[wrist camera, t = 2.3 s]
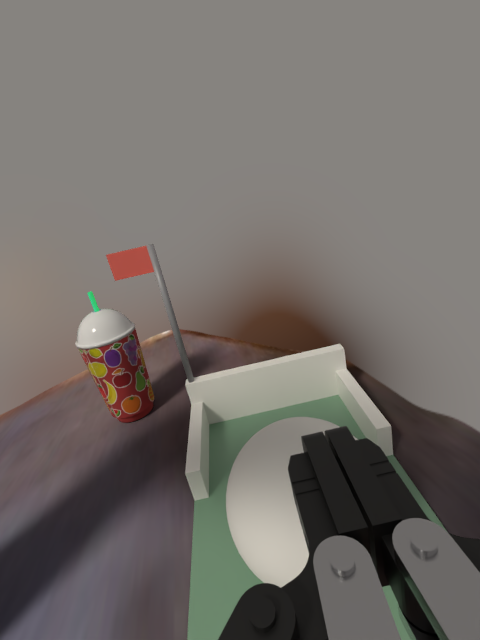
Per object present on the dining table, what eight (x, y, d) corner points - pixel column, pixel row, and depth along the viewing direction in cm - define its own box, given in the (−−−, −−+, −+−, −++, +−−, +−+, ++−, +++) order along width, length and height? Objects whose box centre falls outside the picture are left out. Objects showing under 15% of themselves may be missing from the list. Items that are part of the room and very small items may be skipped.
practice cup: (114, 744, 20) (-133, 392, 12) (169, 428, 48) (108, 253, 39) (526, 648, 21) (586, 226, 12) (345, 388, 48) (323, 204, 39)
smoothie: (129, 395, 59) (86, 286, 52) (170, 395, 56) (131, 279, 49) (97, 428, 52) (43, 306, 45) (143, 430, 49) (93, 299, 42)
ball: (252, 664, 22) (208, 537, 18) (238, 507, 34) (208, 405, 29) (433, 623, 22) (429, 485, 18) (358, 479, 34) (345, 374, 29)
